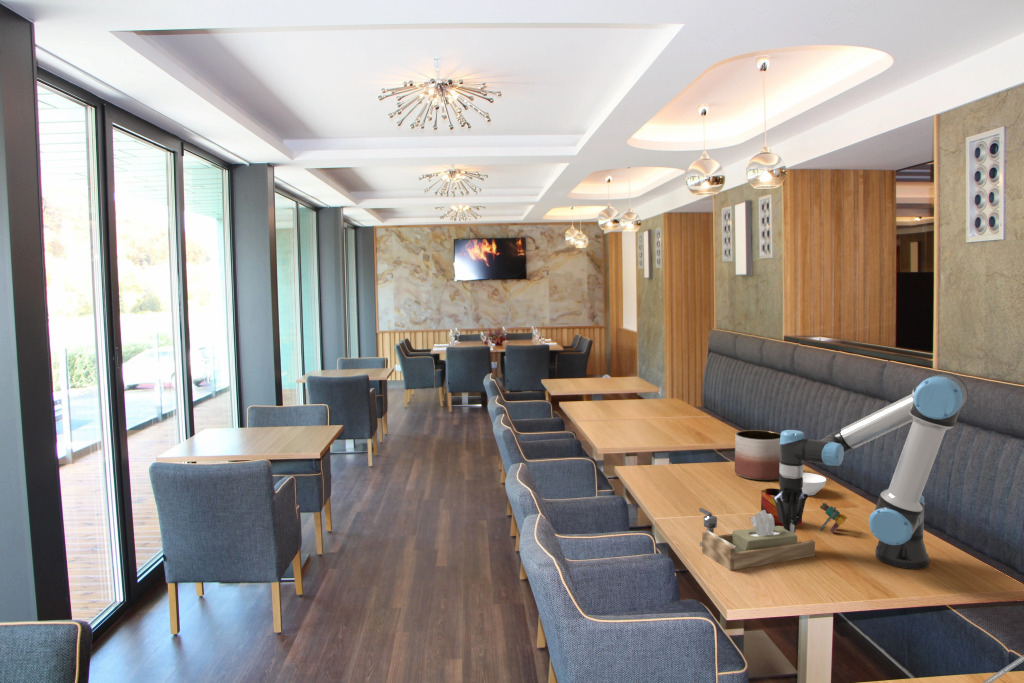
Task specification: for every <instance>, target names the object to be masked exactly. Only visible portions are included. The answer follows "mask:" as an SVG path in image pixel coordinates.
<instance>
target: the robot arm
mask: <svg viewBox="0 0 1024 683" xmlns="http://www.w3.org/2000/svg"><path fill="white" fill-rule="evenodd" d="M968 388H969V387H968V386H967V384H966V382H965V381H964V380H963V379H962V378H961V377H959V376H958V375H955V374H953V373H949V372H948V373H947V372H946V373H945V372H944V373H941V372H940V373H938V374H934V375H932V376H931V377H928V378H926V379H924V380H923V381H922V382H920V383H919V384H918V385H917V386H916V387H915V388H912V391H911V394H909V395H907V396H904V397H902V398H901V399H898V400H897V401H895V402H892V403H891V404H888V405H886V406H884V407H883V408H881V409H878V410H876V411H875V412H873V413H870V414H869V415H866V416H864V417H862V418H860V419H858V420H856V421H854V422H852V423H850V424H848V425H847V426H845V427H842V428H841V429H838V430H837V431H835V432H832V433H829V434H828V435H826V436H825V437H823V438H821V439H810V438H805V433H804V432H803V431H801V430H796V429H786V430H782V431H781V432H780V434H781V437H780V468H779V473H780V474H781V475H779V479H778V485H779V489H780V491H779V494H778V495H777V496H773V499H774V501H775V503H776V508H777V514H778V519H779V522H781V523H783V524H784V529H786V530H788V531H790V532H791V533H793V534H795V533H796V530H797V527H796V526H798V525H799V524H798V523H797V522H801V519H802V520H803V514H804V511H805V510H804V509H805V505H806V500H807V499H808V498H809V496H808V495H807V494H805V493H803V492H802V489H801V488H802V487H803V477H802V476H803V473H804V461H805V462H809V463H815V464H821V465H826V466H836V467H837V466H838V467H839V466H840V465H842V462H843V460H844V456H845V454H846V453H849V452H850V451H852V450H854V449H856V448H858V447H860V446H862V445H864V444H867V443H869V442H871V441H873V440H876V439H877V438H879V437H882V436H883V435H886V434H888V433H890V432H892V431H894V430H897V429H899V428H901V427H903V426H906V425H908V424H910V423H911V425H910V428H909V431H908V434H907V437H906V439H905V443H904V445H903V448H902V450H901V453H900V455H899V459H898V461H897V464H896V467H895V470H894V473H893V475H892V479H891V480H890V481H891V482H890V483H889V486H888V488H886V489H884V490H883V491H881V492H880V495H879V496H878V500H877V503H876V506H875V508H874V510H873V511H871V514H870V515H869V519H868V525H869V526H868V527H869V529H870V531H871V533H872V535H873V536H874V537H875V538H876V539H877V540H878V542H877V545H876V547H875V553H874V556H875V558H876V559H877V560H878V561H880V562H882V563H885V564H887V565H890V566H893V567H898V568H901V569H909V570H920V569H921V570H922V569H926V568H927V567H928V566H929V565H930V557H929V554H928V553H927V549H926V548H927V547H926V546H925V542H924V527H925V525H924V522H925V519H924V518H925V505H926V503H925V497H924V495H922V494H923V491H924V489H925V486H926V483H927V482H928V479H929V476H930V473H931V470H932V468H933V465H934V462H935V460H936V458H937V455H938V453H939V449H940V447H941V443H942V442H943V438H944V436H945V434H946V432H947V430H950V429H952V428H954V427H955V425H956V422H957V419H958V416H959V414H960V412H961V410H962V409H961V408H962V406H964V404H966V402H967V400H968V397H969V389H968ZM782 499H783V500H782ZM782 501H783V502H782Z"/></svg>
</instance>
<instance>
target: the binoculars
mask: <svg viewBox="0 0 1024 683" xmlns="http://www.w3.org/2000/svg"><path fill="white" fill-rule="evenodd" d="M819 508H820V509H821V510H823V511H825V514H826V515H827V516H828V518H827V519H826V521H824V523H823V524H822V525H821V527H819V530H820V531H821V530H823V529H824V527H826V526H827V524H828V523H829V522H832V520H833V521H835V523H833V525H832V526H831V528H830V529H829V531H830V532H831V533H832V534H834V533H835V532H836V530H837V529H838V528H839V526H841V525H842V524H843V523H845V522H846V520H847V519H848V516H846V515H845V514H844V513H841V511H839V510H838V509H837V508H836V506H832V505H828V503H826V502H823V503H822V505H820V506H819Z"/></svg>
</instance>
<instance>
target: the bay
mask: <svg viewBox="0 0 1024 683" xmlns="http://www.w3.org/2000/svg"><path fill="white" fill-rule="evenodd" d="M781 527H782V528H784V526H781ZM732 541H733V533H728V534H721V535H717V534H715V533H714V534H713V533H712V532H710V531H708V530H707V529H706V530H705V532H704V531H703V532H702V534H701V542H702V546H701V547H702V548H701V552H702V554H704V555H706V556H707V557H709V558H710V559H712V560H713V561H715V562H717V564H720V565H721V566H722V567H725V568H726V569H727V570H728V571H735V570H740V569H745V568H753V567H758V566H764V565H769V564H774V563H781V562H787V561H793V560H798V559H803V558H810V557H815V556H816V541H815V540H813V539H810V540H805V541H797V543H794V544H785V545H779V546H773V547H767V548H761V549H755V550H749V551H742V552H736V553H734V549H736V546H734V545H733V544H732Z"/></svg>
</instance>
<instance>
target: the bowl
mask: <svg viewBox="0 0 1024 683" xmlns="http://www.w3.org/2000/svg"><path fill="white" fill-rule="evenodd" d="M802 477H803V487H802V488H801V489H802V492H803V493H805V494H807V495H808V497H809V496H815V495H816V494H817V493H818V492H819V491H820V490H822V489H823V488H824V486H826V484H827V478H826V477H825V476H823V475H822V474H821V475H820V474H818V473H817V474H816V473H811V472H810V473H809V472H803V476H802Z"/></svg>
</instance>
